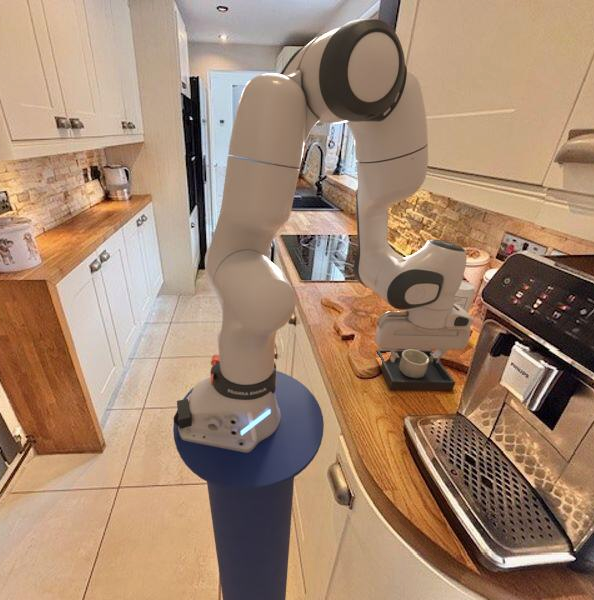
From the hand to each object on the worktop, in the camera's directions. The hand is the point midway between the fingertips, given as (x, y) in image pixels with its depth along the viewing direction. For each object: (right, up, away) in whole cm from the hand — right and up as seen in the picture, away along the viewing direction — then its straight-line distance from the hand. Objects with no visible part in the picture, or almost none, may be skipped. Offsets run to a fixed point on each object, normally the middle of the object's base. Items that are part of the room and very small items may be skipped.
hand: (413, 361), depth 79 cm
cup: (0, -3, +2) cm, 3 cm away
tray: (0, -3, +2) cm, 4 cm away
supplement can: (+19, +6, +19) cm, 28 cm away
